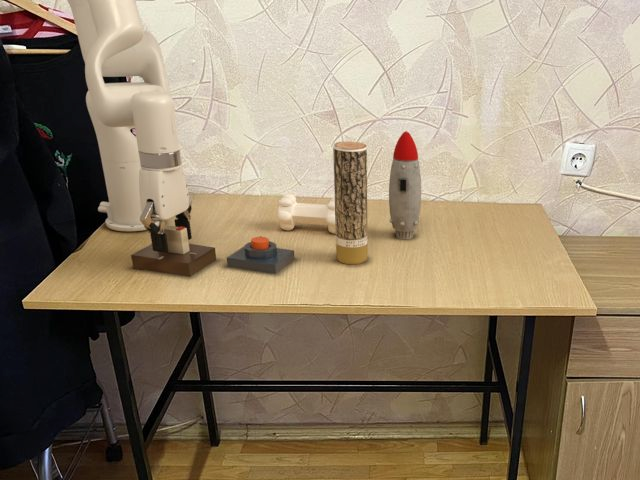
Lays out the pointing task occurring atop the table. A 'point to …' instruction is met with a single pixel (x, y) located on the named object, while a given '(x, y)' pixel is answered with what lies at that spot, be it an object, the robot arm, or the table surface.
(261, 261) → the button box
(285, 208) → the dog bone
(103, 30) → the robot arm
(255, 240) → the button
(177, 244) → the beige block
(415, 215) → the toy rocket
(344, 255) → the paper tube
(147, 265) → the panel
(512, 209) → the table surface
